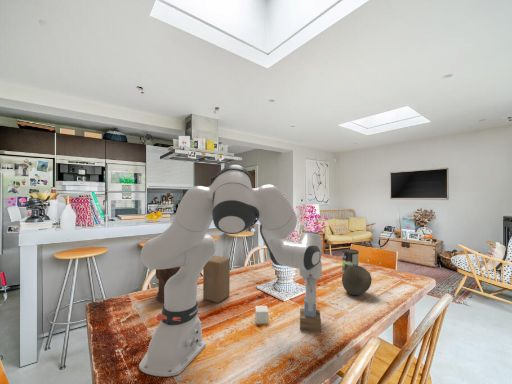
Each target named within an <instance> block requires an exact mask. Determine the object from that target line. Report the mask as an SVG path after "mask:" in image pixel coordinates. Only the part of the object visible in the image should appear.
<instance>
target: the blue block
mask: <svg viewBox="0 0 512 384" xmlns="http://www.w3.org/2000/svg"><path fill="white" fill-rule="evenodd" d="M303 304H304V308H303V309H304V316H308V317H316V310H317V303H316V304H313V311H308V304H307V303H306V296H304V303H303Z"/></svg>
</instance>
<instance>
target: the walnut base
mask: <svg viewBox="0 0 512 384" xmlns="http://www.w3.org/2000/svg"><path fill="white" fill-rule="evenodd" d="M321 330H322V317H321V311H320V309H316V317H308V316H304V308H302V307H300V309H299V331H304V332H313V333H322V331H321Z"/></svg>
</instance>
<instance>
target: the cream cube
mask: <svg viewBox="0 0 512 384" xmlns="http://www.w3.org/2000/svg"><path fill="white" fill-rule="evenodd" d="M254 311H255V324H256V325H257V324H258V325H260V324H263V325H264V324H269V309H268V305H255V310H254Z"/></svg>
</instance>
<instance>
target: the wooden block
mask: <svg viewBox="0 0 512 384" xmlns="http://www.w3.org/2000/svg"><path fill="white" fill-rule="evenodd" d="M230 263H231V261H230V257H225V256H220V255H219V256H218V255H214V256H213V257H212V259H210V260H209V261H208V262H207V263H206V265H205V266H204V268H203V269H202V271H203V272H202V273H203V274H202V275H203V279H202V280H203V281H202V283H203V286H202V287H203V288H202V291H203V293H202V294H203V295H202V296H203V297H202V298H203V300H206V301H210V302H214V303H217V304H218V303H221V302H222V301H224V300H225V299H226V298H228V297H229V296H230V285H231V284H230V278H231V277H230V273H231V272H230V269H231V268H230V267H231V264H230Z"/></svg>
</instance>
